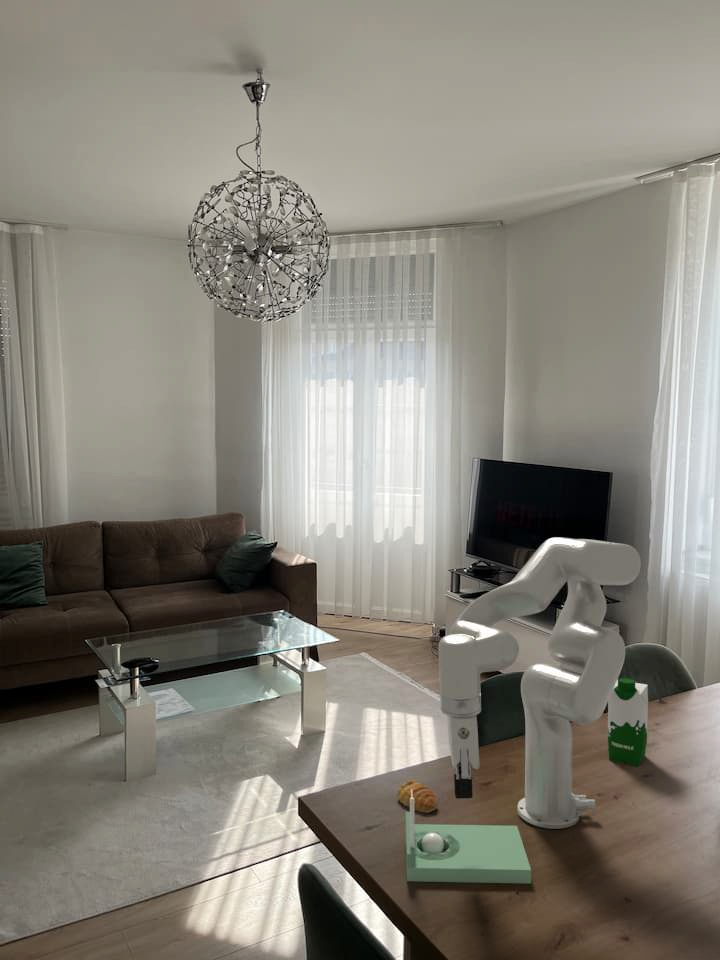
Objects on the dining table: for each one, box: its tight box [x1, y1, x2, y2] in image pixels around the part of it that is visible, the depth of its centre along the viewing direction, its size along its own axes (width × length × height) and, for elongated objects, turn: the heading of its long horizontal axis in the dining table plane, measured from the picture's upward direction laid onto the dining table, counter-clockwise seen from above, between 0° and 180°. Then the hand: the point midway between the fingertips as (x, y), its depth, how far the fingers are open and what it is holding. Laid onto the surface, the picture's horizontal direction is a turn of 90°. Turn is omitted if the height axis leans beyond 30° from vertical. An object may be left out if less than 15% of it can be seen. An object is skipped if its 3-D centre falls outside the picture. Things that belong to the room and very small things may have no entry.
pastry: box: [396, 780, 439, 814], centre depth 163 cm, size 9×7×4 cm
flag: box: [409, 789, 415, 848], centre depth 139 cm, size 1×4×14 cm, turn 178°
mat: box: [405, 811, 532, 885], centre depth 142 cm, size 22×15×5 cm
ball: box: [422, 833, 444, 854], centre depth 142 cm, size 4×4×4 cm
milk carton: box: [607, 677, 649, 767], centre depth 184 cm, size 9×9×20 cm
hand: (463, 796), depth 142 cm, fingers closed
